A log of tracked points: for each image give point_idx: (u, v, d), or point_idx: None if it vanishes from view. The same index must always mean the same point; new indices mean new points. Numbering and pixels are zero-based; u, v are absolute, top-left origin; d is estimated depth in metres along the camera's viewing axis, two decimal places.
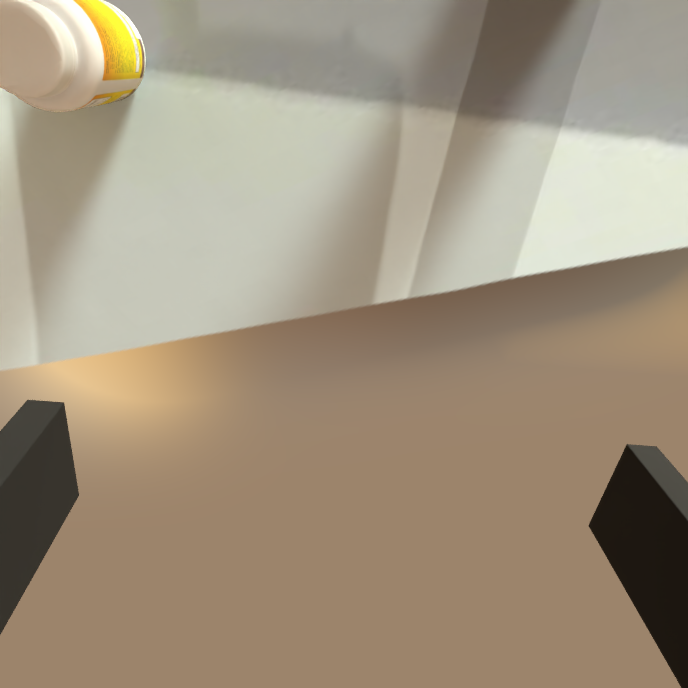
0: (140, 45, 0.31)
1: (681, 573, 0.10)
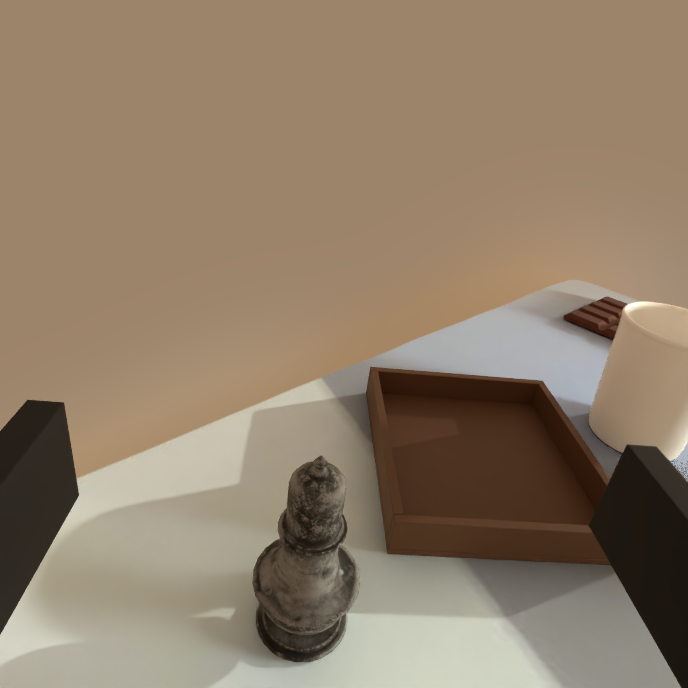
0: None
1: (681, 573, 0.10)
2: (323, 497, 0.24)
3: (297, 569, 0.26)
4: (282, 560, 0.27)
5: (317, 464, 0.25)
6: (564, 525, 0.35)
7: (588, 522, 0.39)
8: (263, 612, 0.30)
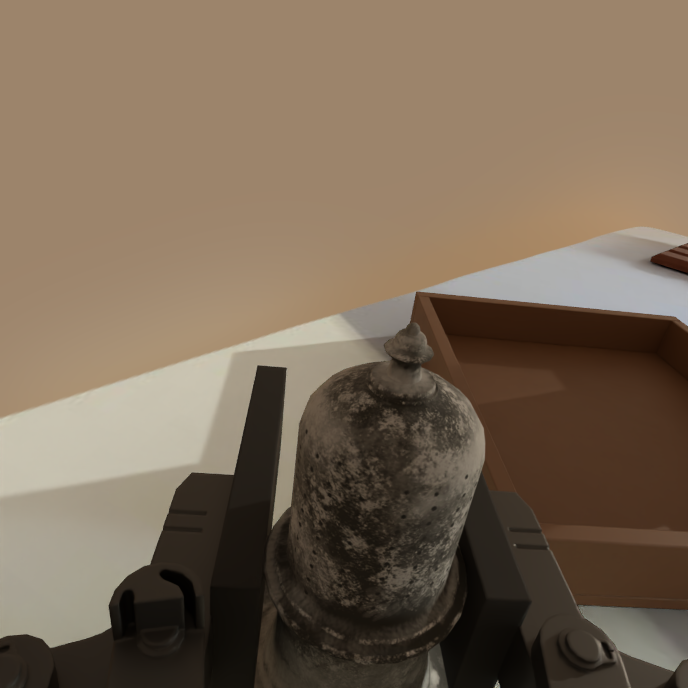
0: None
1: None
2: (427, 465, 0.07)
3: None
4: (278, 655, 0.10)
5: (401, 351, 0.07)
6: None
7: None
8: None
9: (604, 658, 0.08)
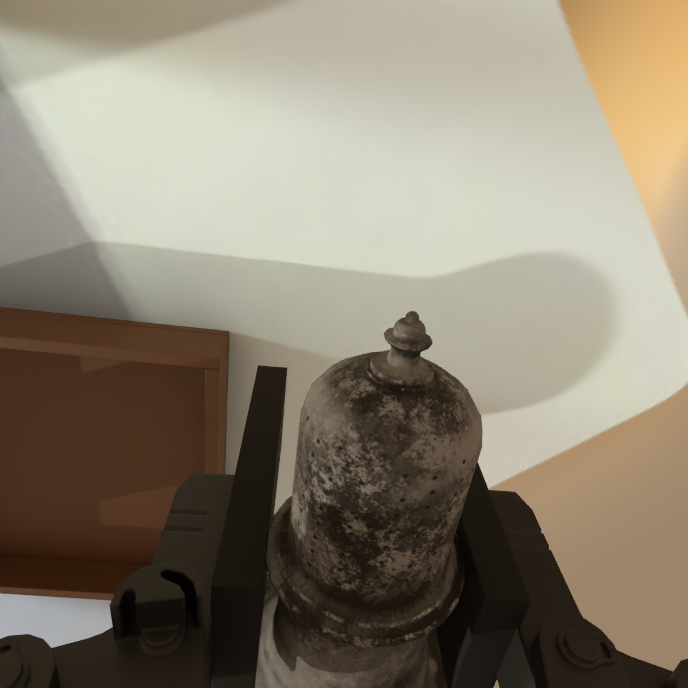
0: None
1: None
2: (425, 449, 0.07)
3: (323, 679, 0.09)
4: (278, 642, 0.10)
5: (400, 339, 0.07)
6: None
7: None
8: None
9: (603, 658, 0.08)
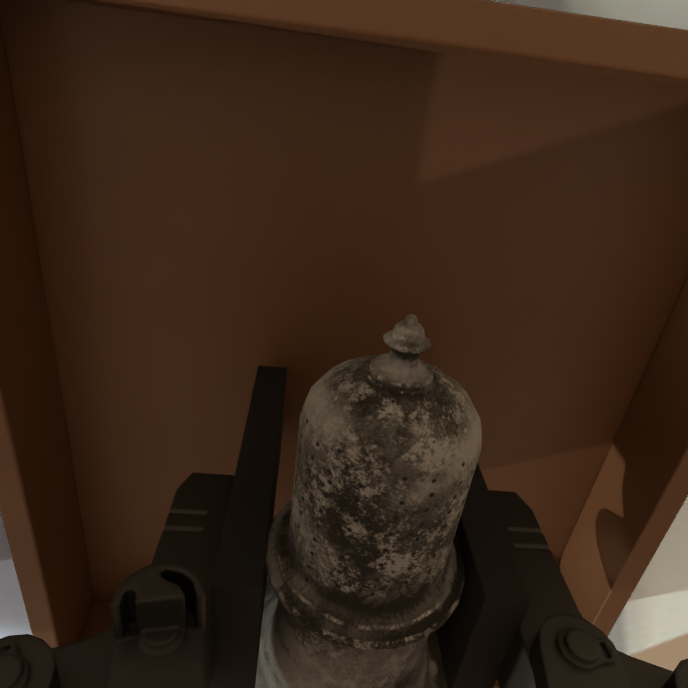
0: None
1: None
2: (425, 453, 0.07)
3: (323, 680, 0.09)
4: (278, 644, 0.10)
5: (399, 342, 0.07)
6: (246, 4, 0.08)
7: (77, 144, 0.11)
8: None
9: (603, 658, 0.08)
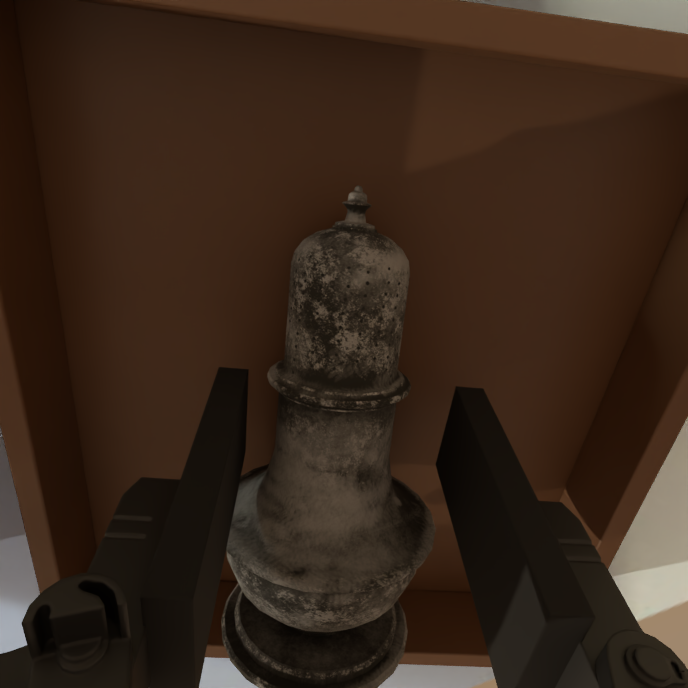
0: None
1: (474, 489, 0.12)
2: (361, 253, 0.11)
3: (304, 460, 0.12)
4: (275, 453, 0.13)
5: (350, 200, 0.12)
6: (245, 4, 0.09)
7: (87, 135, 0.12)
8: (238, 602, 0.15)
9: (674, 678, 0.07)
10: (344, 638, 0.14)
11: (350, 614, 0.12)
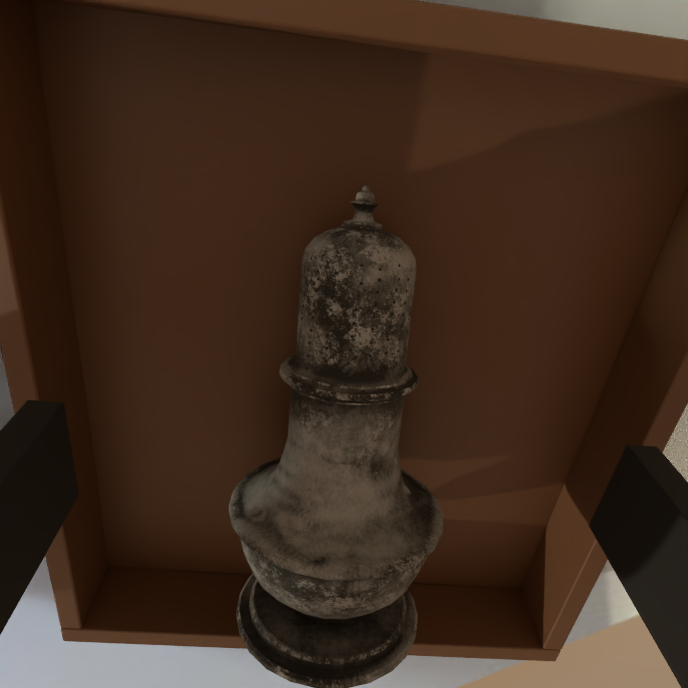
0: None
1: (681, 573, 0.10)
2: (373, 251, 0.11)
3: (319, 453, 0.13)
4: (289, 448, 0.13)
5: (359, 200, 0.12)
6: (256, 11, 0.09)
7: (101, 136, 0.13)
8: (252, 595, 0.15)
9: None
10: (358, 625, 0.14)
11: (368, 600, 0.12)
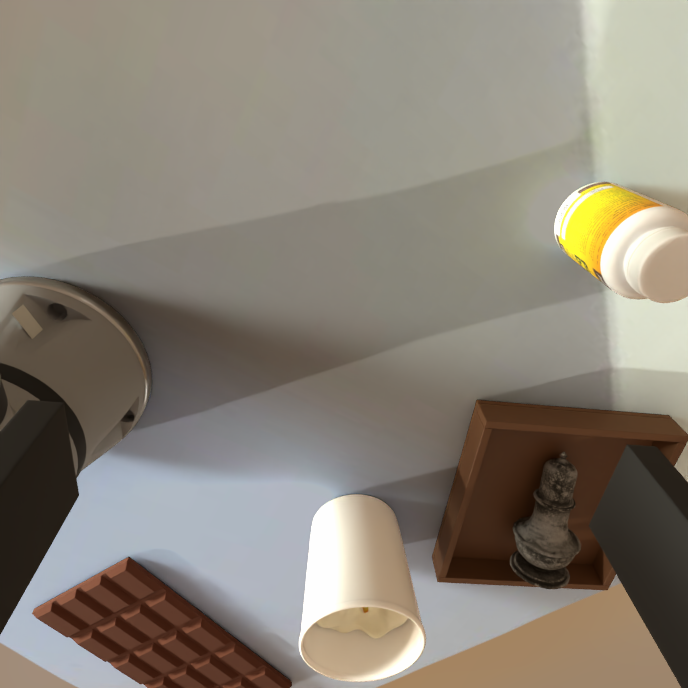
0: (584, 190, 0.35)
1: (681, 573, 0.10)
2: (569, 473, 0.44)
3: (550, 523, 0.46)
4: (536, 521, 0.46)
5: (562, 456, 0.45)
6: (553, 431, 0.42)
7: (489, 436, 0.46)
8: (516, 564, 0.48)
9: None
10: (553, 572, 0.47)
11: (564, 563, 0.46)
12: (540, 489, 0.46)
